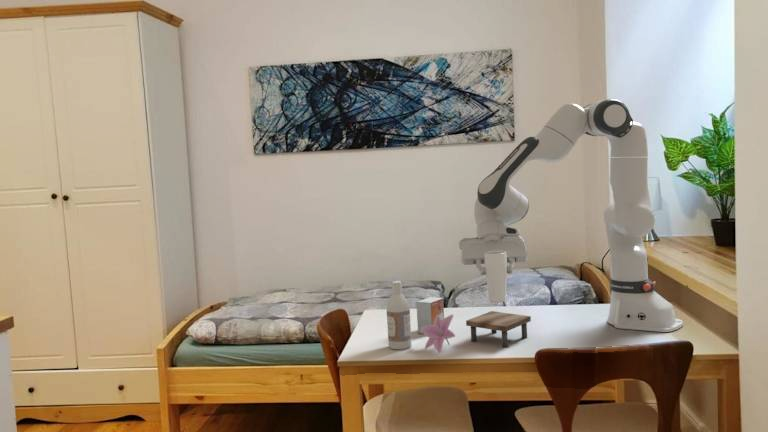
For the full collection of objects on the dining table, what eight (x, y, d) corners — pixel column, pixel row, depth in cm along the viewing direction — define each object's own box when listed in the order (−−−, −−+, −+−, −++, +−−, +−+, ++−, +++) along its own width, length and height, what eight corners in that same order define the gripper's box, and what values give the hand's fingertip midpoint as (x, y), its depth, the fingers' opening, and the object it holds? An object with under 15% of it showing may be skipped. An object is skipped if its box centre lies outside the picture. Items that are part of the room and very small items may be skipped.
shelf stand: (531, 337, 205) (530, 316, 204) (506, 348, 194) (505, 326, 194) (492, 331, 214) (491, 311, 214) (467, 341, 204) (466, 320, 203)
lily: (421, 346, 206) (411, 323, 202) (454, 327, 208) (445, 304, 203) (436, 368, 196) (425, 344, 191) (471, 348, 197) (461, 324, 193)
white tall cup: (508, 303, 199) (506, 253, 198) (485, 303, 201) (483, 254, 199) (509, 298, 206) (506, 249, 204) (487, 298, 207) (484, 250, 206)
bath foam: (384, 347, 203) (380, 282, 202) (402, 342, 207) (399, 278, 205) (397, 351, 198) (393, 285, 196) (416, 346, 202) (412, 281, 200)
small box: (432, 335, 214) (430, 302, 213) (417, 333, 217) (415, 301, 216) (445, 329, 220) (443, 297, 219) (431, 327, 223) (429, 296, 222)
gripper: (458, 232, 209) (462, 268, 200) (524, 229, 208) (531, 265, 199) (458, 244, 214) (461, 280, 205) (522, 241, 213) (529, 277, 204)
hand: (496, 273), depth 202 cm, fingers closed on white tall cup, 6 cm apart
